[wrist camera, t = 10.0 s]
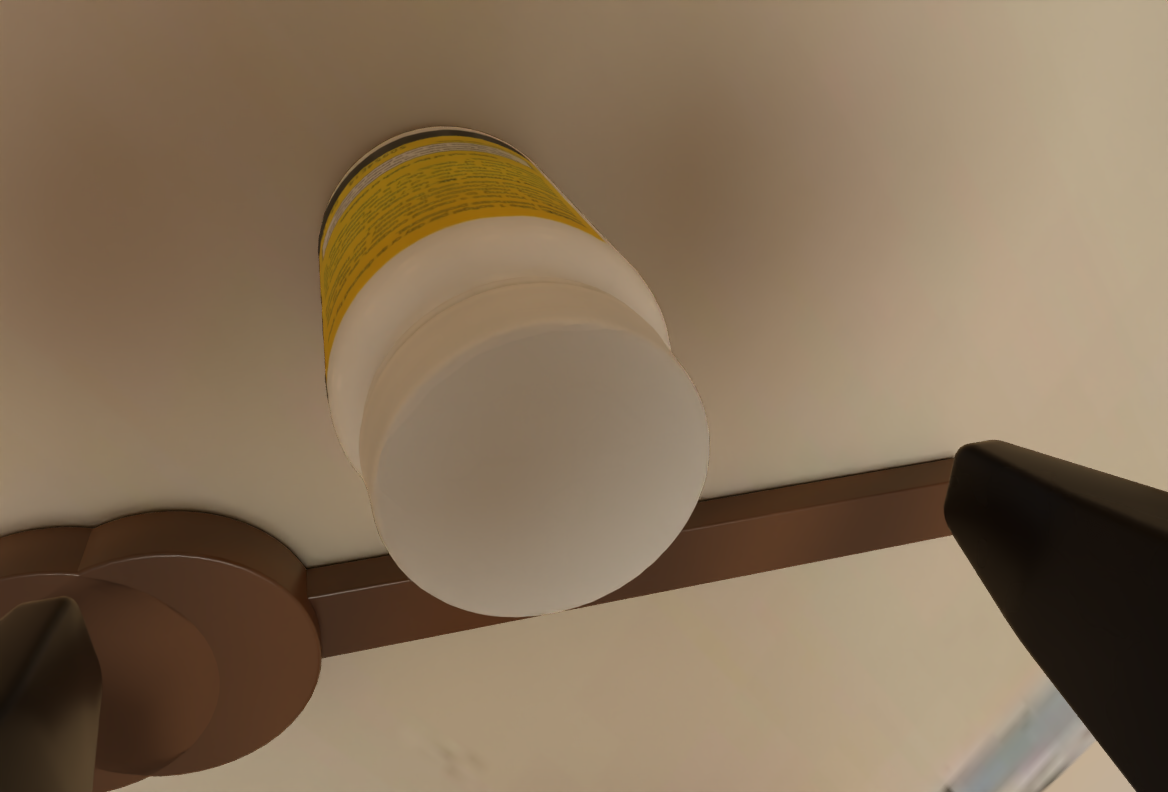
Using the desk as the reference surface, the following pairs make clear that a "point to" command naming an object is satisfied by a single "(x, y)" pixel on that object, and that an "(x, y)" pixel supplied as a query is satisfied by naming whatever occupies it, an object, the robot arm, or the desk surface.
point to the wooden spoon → (356, 604)
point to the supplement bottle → (501, 379)
